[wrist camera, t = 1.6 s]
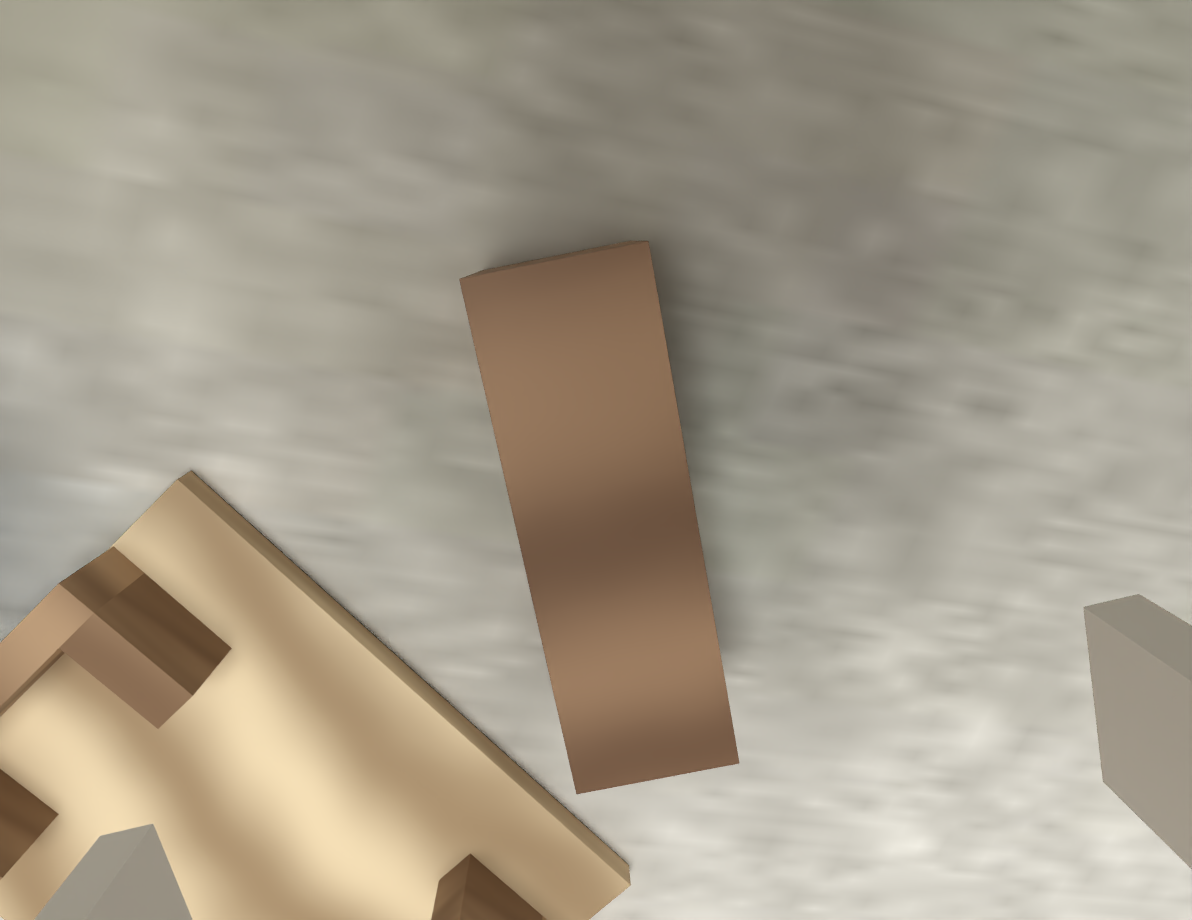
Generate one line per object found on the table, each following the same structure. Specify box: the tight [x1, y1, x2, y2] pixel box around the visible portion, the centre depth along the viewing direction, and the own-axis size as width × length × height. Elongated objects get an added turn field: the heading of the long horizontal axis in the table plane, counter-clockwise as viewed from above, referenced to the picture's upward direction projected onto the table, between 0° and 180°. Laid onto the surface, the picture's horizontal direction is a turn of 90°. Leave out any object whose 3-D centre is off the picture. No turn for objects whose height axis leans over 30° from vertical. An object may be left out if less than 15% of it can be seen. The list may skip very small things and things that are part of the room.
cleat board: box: [0, 471, 631, 920], centre depth 28 cm, size 16×20×5 cm
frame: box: [459, 241, 739, 794], centre depth 25 cm, size 14×5×6 cm, turn 11°
